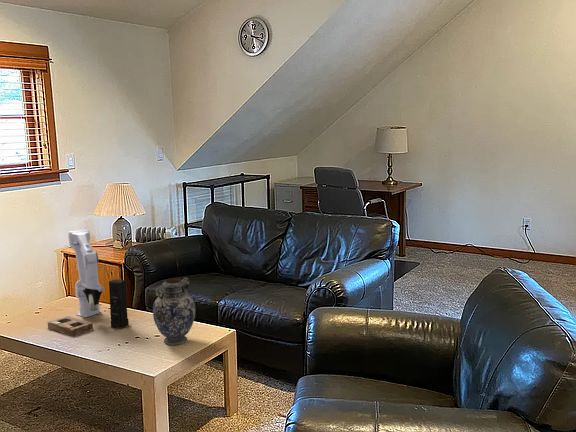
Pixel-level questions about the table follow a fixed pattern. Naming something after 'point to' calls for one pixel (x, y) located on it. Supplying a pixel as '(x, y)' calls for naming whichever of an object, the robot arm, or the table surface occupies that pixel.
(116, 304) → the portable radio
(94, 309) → the steel peg
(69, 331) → the socket board
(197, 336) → the table surface
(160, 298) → the decorative vase
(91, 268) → the robot arm
